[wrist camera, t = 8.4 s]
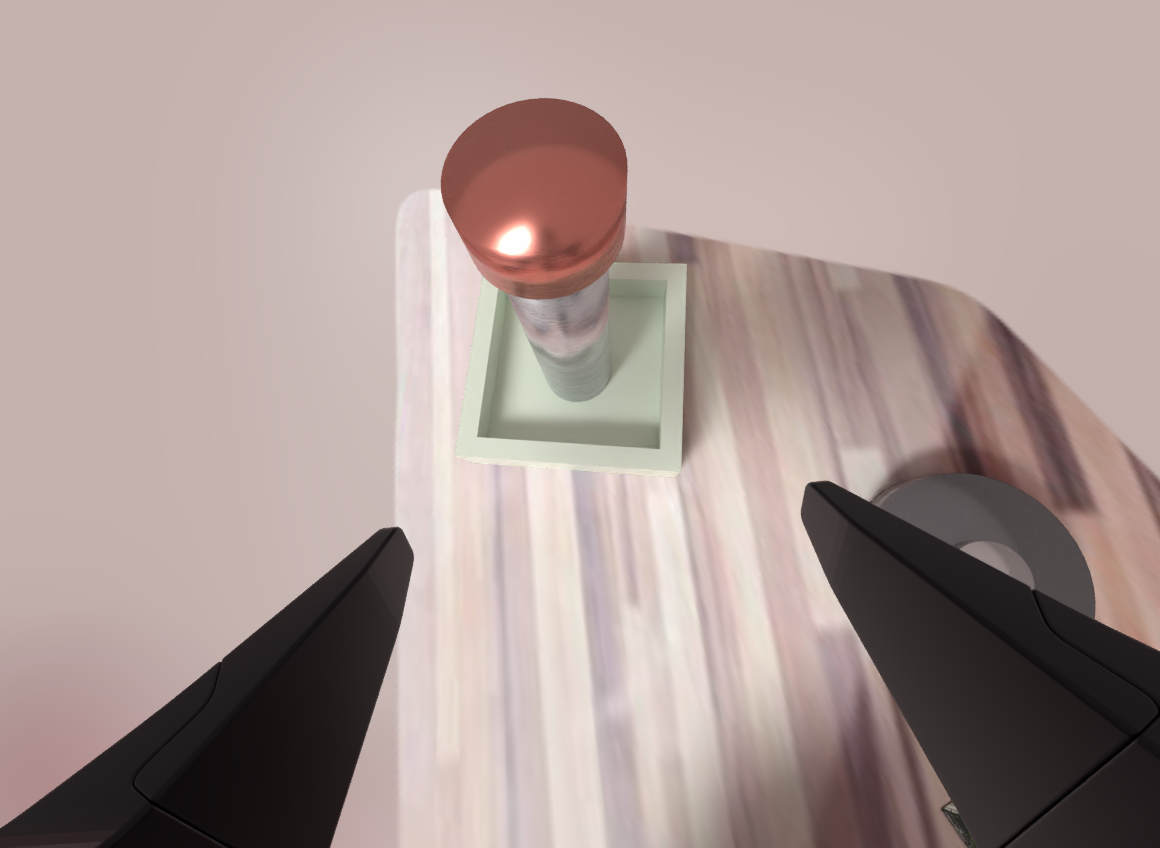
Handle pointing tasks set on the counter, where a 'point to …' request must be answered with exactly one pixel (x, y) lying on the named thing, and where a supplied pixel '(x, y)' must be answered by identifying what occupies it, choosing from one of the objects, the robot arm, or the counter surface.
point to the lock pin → (545, 227)
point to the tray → (600, 425)
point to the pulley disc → (997, 531)
